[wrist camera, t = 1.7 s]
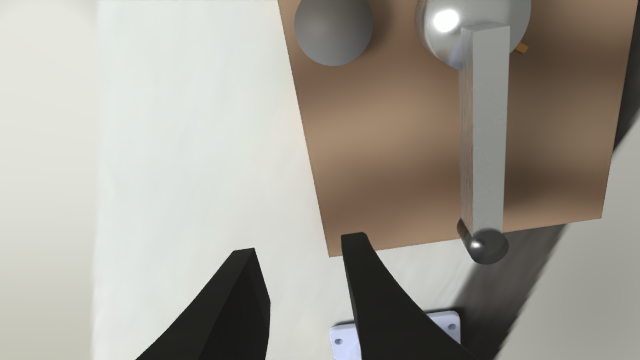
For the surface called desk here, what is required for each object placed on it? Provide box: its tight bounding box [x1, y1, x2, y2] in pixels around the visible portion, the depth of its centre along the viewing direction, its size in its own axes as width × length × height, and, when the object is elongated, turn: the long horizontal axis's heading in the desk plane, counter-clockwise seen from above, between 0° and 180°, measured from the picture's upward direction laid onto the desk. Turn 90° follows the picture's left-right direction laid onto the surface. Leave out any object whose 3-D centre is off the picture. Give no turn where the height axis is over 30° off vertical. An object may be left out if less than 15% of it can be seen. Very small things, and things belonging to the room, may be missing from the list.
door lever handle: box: [414, 0, 531, 264], centre depth 16 cm, size 12×4×3 cm, turn 10°
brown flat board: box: [278, 0, 638, 257], centre depth 17 cm, size 18×14×3 cm
